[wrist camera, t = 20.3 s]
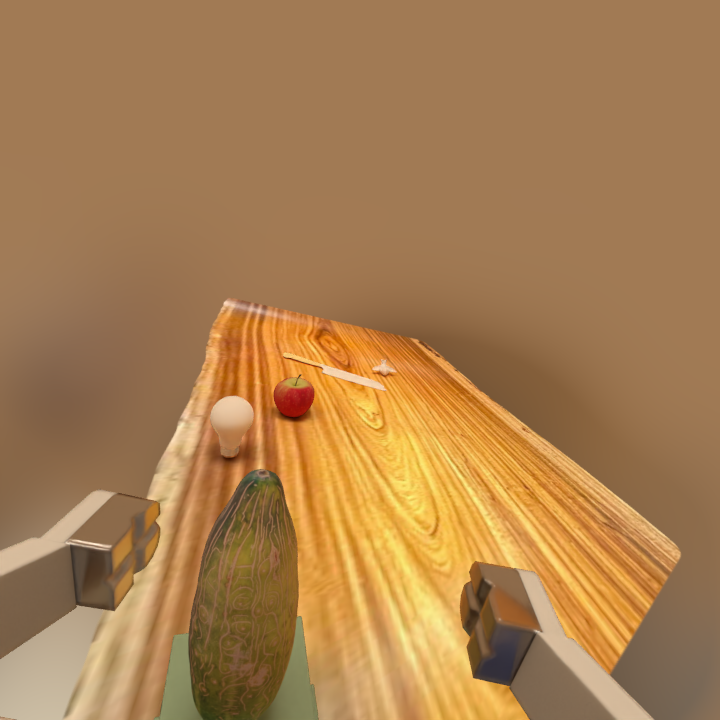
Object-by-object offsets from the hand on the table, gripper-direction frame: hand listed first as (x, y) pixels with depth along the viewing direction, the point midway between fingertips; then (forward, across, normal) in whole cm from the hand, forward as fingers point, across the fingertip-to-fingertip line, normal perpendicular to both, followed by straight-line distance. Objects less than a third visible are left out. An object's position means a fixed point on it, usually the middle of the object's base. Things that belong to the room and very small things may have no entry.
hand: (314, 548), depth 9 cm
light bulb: (+45, +18, +32) cm, 58 cm away
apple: (+63, +12, +32) cm, 71 cm away
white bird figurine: (+96, -9, +32) cm, 102 cm away
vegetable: (+8, +3, +26) cm, 27 cm away
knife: (+90, +6, +32) cm, 96 cm away
